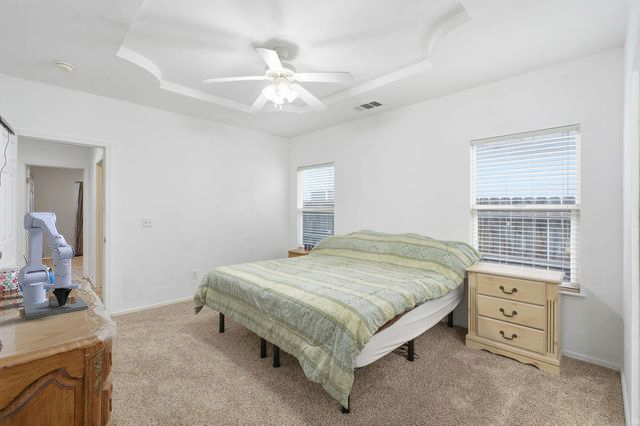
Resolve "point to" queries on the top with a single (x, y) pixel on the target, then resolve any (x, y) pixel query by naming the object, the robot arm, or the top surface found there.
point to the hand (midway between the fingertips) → (62, 305)
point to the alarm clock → (50, 281)
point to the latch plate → (52, 309)
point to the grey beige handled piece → (54, 301)
